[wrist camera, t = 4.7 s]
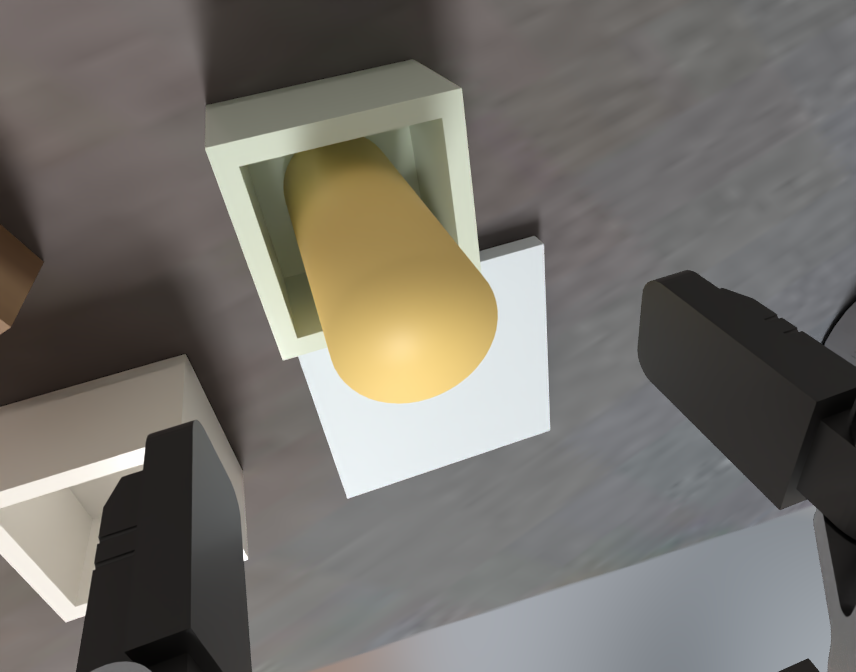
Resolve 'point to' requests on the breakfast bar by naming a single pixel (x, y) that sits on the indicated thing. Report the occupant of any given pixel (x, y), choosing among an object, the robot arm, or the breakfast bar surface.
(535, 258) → the thin white panel
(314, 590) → the breakfast bar surface
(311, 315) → the pot green
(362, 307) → the peg
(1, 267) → the walnut block
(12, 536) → the pot white
